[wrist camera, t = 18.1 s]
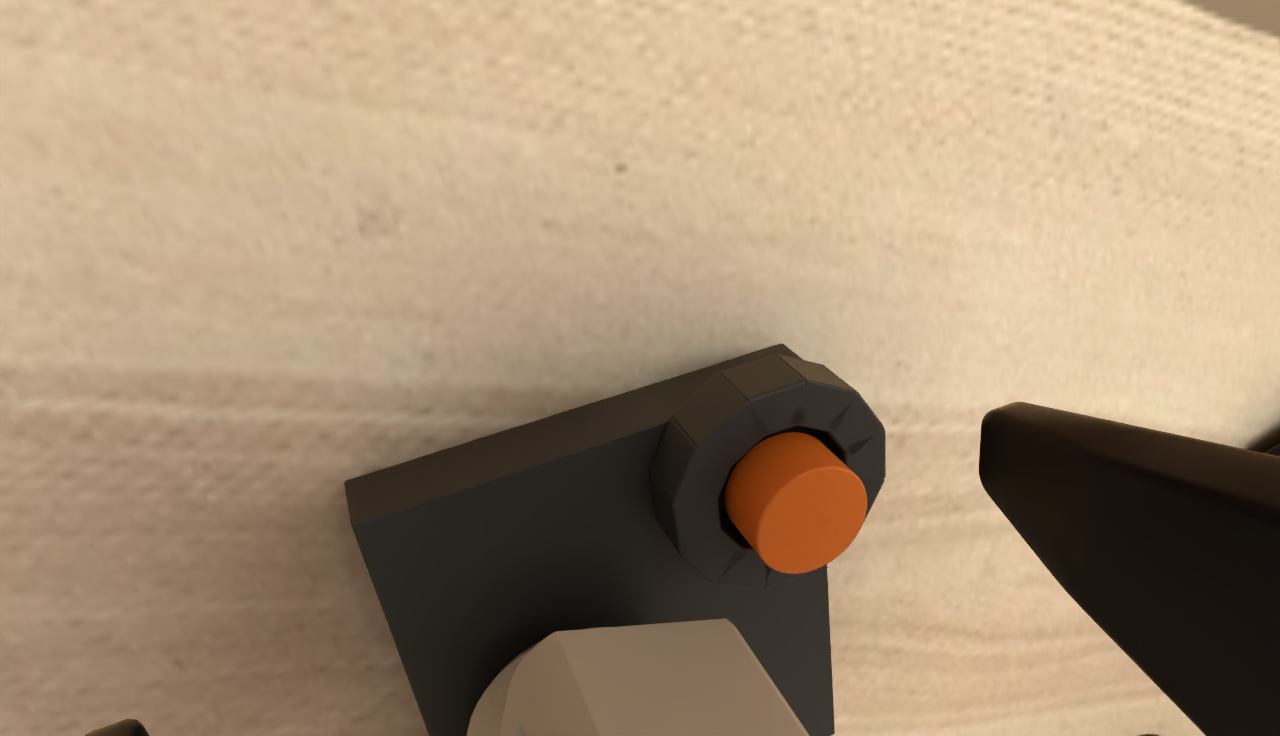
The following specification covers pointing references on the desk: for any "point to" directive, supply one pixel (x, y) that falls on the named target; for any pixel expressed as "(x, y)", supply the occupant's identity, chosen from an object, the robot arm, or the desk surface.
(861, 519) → the button
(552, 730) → the beige plastic holder
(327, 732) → the desk surface
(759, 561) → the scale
